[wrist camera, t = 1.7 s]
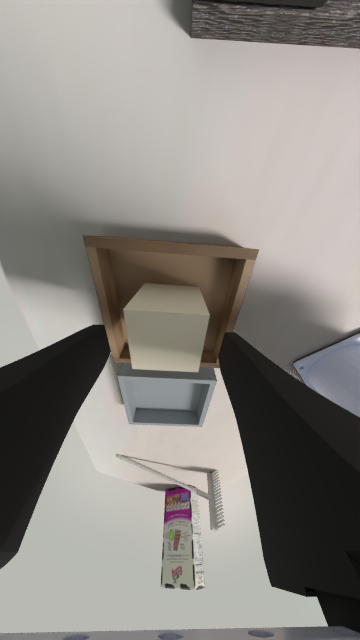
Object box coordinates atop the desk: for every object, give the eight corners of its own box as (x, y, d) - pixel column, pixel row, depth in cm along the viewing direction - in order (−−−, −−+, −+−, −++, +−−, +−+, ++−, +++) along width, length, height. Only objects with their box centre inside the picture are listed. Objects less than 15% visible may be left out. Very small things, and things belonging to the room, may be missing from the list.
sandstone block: (192, 330, 14) (198, 372, 9) (147, 328, 14) (132, 369, 9) (198, 286, 12) (209, 314, 7) (145, 282, 11) (123, 309, 7)
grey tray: (200, 409, 22) (202, 426, 20) (133, 406, 22) (128, 424, 20) (212, 363, 17) (216, 380, 15) (125, 358, 17) (117, 375, 15)
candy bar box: (173, 491, 52) (171, 586, 38) (165, 489, 50) (159, 587, 36) (198, 487, 49) (205, 589, 34) (190, 484, 47) (194, 592, 32)
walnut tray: (215, 351, 16) (220, 368, 14) (122, 346, 16) (113, 362, 14) (243, 247, 11) (258, 249, 8) (102, 236, 10) (82, 235, 8)
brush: (131, 425, 36) (111, 476, 27) (218, 468, 39) (225, 526, 30) (125, 433, 37) (105, 483, 29) (210, 473, 40) (215, 531, 31)
